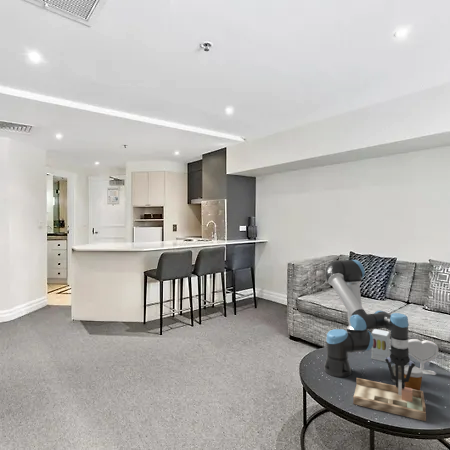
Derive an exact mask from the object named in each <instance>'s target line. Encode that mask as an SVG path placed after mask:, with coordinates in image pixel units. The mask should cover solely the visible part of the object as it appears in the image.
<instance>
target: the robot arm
mask: <svg viewBox="0 0 450 450" xmlns="http://www.w3.org/2000/svg"><path fill="white" fill-rule="evenodd" d="M324 272H325V273H324V275H325V279H326V281H327V283H328V285H330V286H332V287H333V290H334V291H335V293H336V294H337V296H338V297H339V299H340V301H341V302H342V304H343V306H344V307H345V309H346V311H347V319H348V321H347V322H348V326H347V327H346V329H342V328H340V329H339V328H334V329H331V330H329V331H328V332H327V333H326V340H325V341H326V359H325V362H324V364H323V369H324V372H325V373H326V374H328V375H330V376H332V377H336V378H337V377H338V378H344V377H345V378H347V377H349V376H350V375H352V367H351V364H350V361H349V357H348V356H349V354H350V353H359V352H360V353H361V352H362V353H363V352H367V351H368V352H369V351H370V350H372V346H373V336H372V331H371V330H374V329H378V330H380V329H386V330H388V331H389V332H390V357H388V358H387V357H386V358H385V361H386V362H385V363H386V364H387V367H388V370H389V374H390V379H391V378H392V379H394V380H395V381H396V383H395V386H396V387H398V395H400V396H402V388H403V389H404V387H405V382H409V379H410V375H411V372H412V368H413V367H414V366H416V364H415V362H414V361H412V360H411V359H410V357H409V355H410V353H409V349H408V340H409V318H408V317H409V316H407V315H406V314H403V313H400V312H394V313H388V312H387V311H385V310H377V311H375V312H373V313H367V312H366V310H365V309H364V308H363V304H362V297H361V287H360V284H361V283H362V280H363V278H364V277H365V274H366V273H365V272H366V271H365V267H364V265H363V264H362V262H361V261H360V260H358V259H346V260H332V261H331V262H329V263H328V264H327V266H326V268H325V271H324ZM369 330H370V331H369ZM391 362H392V363H393V365H395V373H396V376H394V373H393V370H392V366H393V365H392V363H391ZM405 365H409V368H408V372H407V375H406V378H404V366H405ZM398 366H401V378H402V380H399V379H398Z"/></svg>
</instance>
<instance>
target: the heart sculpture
mask: <svg viewBox="0 0 450 450" xmlns="http://www.w3.org/2000/svg"><path fill="white" fill-rule="evenodd" d="M408 349H409V355H410V356H411V357H412V358H413V359H415V360H416V361H418V362H419V365H420V366H419V368H420V369H421V370H422V372H423V375H432V376H435V375H437V372H435V371H433V370H428V369H425V364H426V363H428V362H432V361H433V360H434V359H436V357H437V356H438V354H439V346H438V345H437V343H435V342H433V341H432V340H431V341H430V340H427V339H425V340H420V339H418V338H411V339H408Z"/></svg>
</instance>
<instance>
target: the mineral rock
mask: <svg viewBox="0 0 450 450" xmlns="http://www.w3.org/2000/svg"><path fill="white" fill-rule="evenodd" d="M391 366H392V370H393V373H394V376H396V373H395V364H393V365H391ZM398 379H399V380H402V378H401V366H398ZM390 380H391V381H392V382H393V383H395V384H396V381H395V380H394V379H392V378H391V377H390Z"/></svg>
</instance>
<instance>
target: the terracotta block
mask: <svg viewBox="0 0 450 450" xmlns="http://www.w3.org/2000/svg"><path fill="white" fill-rule="evenodd" d="M402 400H405V401H409V402H412V388H407V387H405V386H404V389H403V388H402Z"/></svg>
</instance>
